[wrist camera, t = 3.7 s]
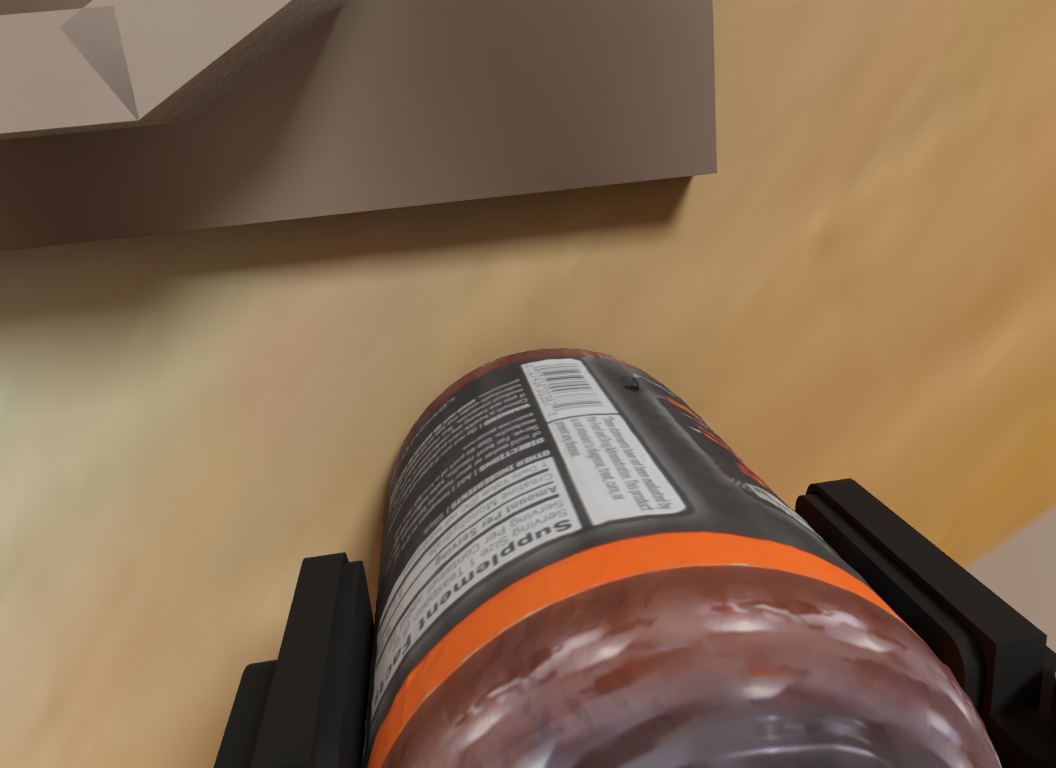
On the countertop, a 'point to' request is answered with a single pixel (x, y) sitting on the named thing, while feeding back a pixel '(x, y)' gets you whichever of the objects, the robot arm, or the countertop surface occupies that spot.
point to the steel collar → (138, 60)
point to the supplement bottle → (627, 598)
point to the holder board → (391, 120)
